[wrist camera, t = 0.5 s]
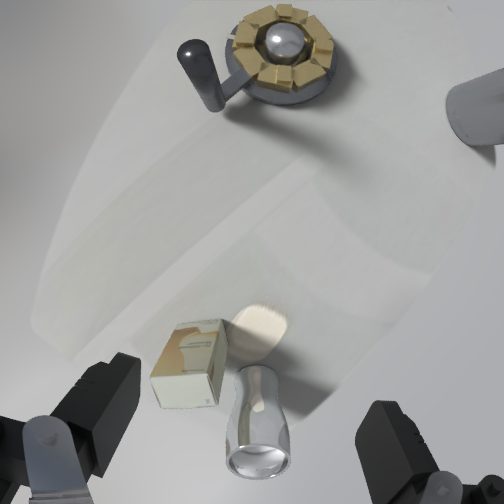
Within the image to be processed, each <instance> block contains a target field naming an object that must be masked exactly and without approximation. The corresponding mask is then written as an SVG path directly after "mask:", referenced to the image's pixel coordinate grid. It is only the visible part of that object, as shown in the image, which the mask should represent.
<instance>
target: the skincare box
mask: <svg viewBox="0 0 504 504" xmlns="http://www.w3.org/2000/svg"><path fill="white" fill-rule="evenodd" d="M228 347H229V346H228V341H227V337H226V332H225V328H224V324H223V321H222V319H217V320H208V321H199V322H192V323H185V324H178V325H177V326H176V328H175V330H174V331H173V333H172V335H171V337H170V339H169V341H168V343H167V344H166V346H165V348H164V350H163V352H162V354H161V356H160V358H159V359H158V361H157V363H156V365H155V367H154V369H153V371H152V373H151V375H150V377H149V380H150V383H151V386H152V388H153V391H154V394H155V396H156V399H157V401H158V403H159V406H160V408H162V409H192V408H204V407H217V406H218V403H219V397H220V392H221V386H222V381H223V375H224V370H225V364H226V358H227V353H228Z"/></svg>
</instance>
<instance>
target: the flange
mask: <svg viewBox="0 0 504 504" xmlns="http://www.w3.org/2000/svg"><path fill="white" fill-rule="evenodd" d="M242 22H244V20H243V21H242ZM238 25H239V24H238ZM238 25H237V26H236V27H235V28H234V29H233V31H232V32H231V34H228V35H227V37H226V38H227V39H228V40H227V43H226V48H225V57H226V63H227V67H228V71H229V73H230V75H231V76H232V75H233V74H234V73H236V72H237V71H238V70H239V69H240V67H239V66H238V65H237V63H236V62H235V61H234V56H233V51H232V45H233V41H234V38H235V35H236V31H237V28H238ZM255 49H256V50H257V51H258V53H259V54H260V55H261V57H262V58H263V59H264V60H265V62H266V63H268V64H273V65H277V66H278V65H285V66H291V68H293V67H295V66H297V65H299V64H301V63H303V62H305V61H307V60H308V59H309V54H310V48H309V46H308V45H307V44H306V42H305V37H304V34H303V32H302V31H301V30H300V29H299V28H298V27H297V26H295V25H292V24H289V23H278V24H275V25H273V26H272V27H270V28H269V30H268V31H267V33H265V34H263V35H261V36H259V37H258V39H257V42H256V46H255ZM336 65H337V54H336V50H335V47H334V48H333V53H332V58H331V64H330V69H329V70H328V72H327V73H326V74H325V76H324V77H323V78H322V80H320V81H318V82H316V83H314V84H312V85H310V86H308V87H306V88H304V89H302V90H300V91H299V92H297V93H295V92H294V91H293V89H292V88H291V90H290V92H289V94H287V93H283V92H279V91H274V90H270V89H265V88H260V87H257V81H255V82H253V83H251V82H250V83H249V84H247V85H246V86H245V87H244V88H242V89H241V90H243V91H244V92H245V93H246V94H248V95H249V96H251V97H253V98H255V99H257V100H259V101H262V102H265V103H268V104H274V105H294V104H299V103H303V102H306V101H308V100H310V99H312V98H314V97H315V96H317V95H318V94H319V93H321V92H322V91H323V90H324V89H325V87H326V86H327V85H328V84H329V82H330V81H331V79H332V78H333V75H334V73H335V70H336Z"/></svg>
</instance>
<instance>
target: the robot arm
mask: <svg viewBox="0 0 504 504" xmlns="http://www.w3.org/2000/svg"><path fill="white" fill-rule="evenodd" d="M446 110H447V115H448V119H449V122H450V124H451V127H452V128H453V130H454V132H455V133H456V135H457V136H458V137H459V138H460V139H461V140H462V141H463V142H464V143H466V144H468V145H470V146H487V145H499V144H504V68H502V69H499V70H497V71H494V72H491V73H488V74H486V75H483V76H481V77H478V78H475V79H473V80H470V81H467V82H465V83H462V84H460V85H458V86H455V87H453V88H452V89H451V90H450V92H449V94H448V96H447V100H446ZM140 381H141V360H140V358H136V357H133V356H130V355H127V354H124V353H120V352H118V353H117V354H116V355H115V356H114V358H113V359H112V360H111V362H110V363H109V364H107V363H104V362H99V363H97V364H95V365H93V366H91V367H89V368H88V369H87V370H86V372H85V373H84V374H83V375H82V376H81V379H79V380H78V381H77V382H76V383H75V386H74V387H72V388H71V390H70V391H69V392H68V393H67V394H66V396H65V397H64V398H63V400H62V401H61V402H60V403H59V405H58V406H57V407H56V408H55V410H54V411H53V412H52V413H51V414H50V415H49V416H47V415H42V416H37V417H34V418H32V419H30V420H29V421H28V422H21V421H17V420H13V419H10V418H6V417H3V416H0V504H10V503H11V501H12V500H13V498H14V496H15V494H16V492H17V490H18V489H19V487H20V485H24V486H28V487H30V488H31V493H32V498H29V504H94V503H93V500H92V497H91V495H90V492H89V490H88V486H87V482H88V480H89V478H90V476H91V474H93V475H95V476H98V477H100V478H102V477H103V475H104V473H105V471H106V469H107V467H108V465H109V463H110V461H111V459H112V457H113V455H114V453H115V451H116V448H117V447H118V445H119V443H120V441H121V438H122V437H123V434H124V433H125V431H126V429H127V427H128V425H129V423H130V421H131V419H132V417H133V415H134V413H135V411H136V409H137V406H138V403H139V398H140ZM355 446H356V449H357V452H358V456H359V459H360V462H361V465H362V469H363V472H364V476H365V479H366V482H367V486H368V489H369V493H370V496H371V500H372V503H373V504H504V480H503V479H502V478H501V477H499V476H496V475H487V476H486V477H484V478H483V479H482V480H481V481H480V482H479V484H478V485H465V484H462V483H461V481H460V480H459V478H458V477H457V476H455V475H454V474H452V473H450V472H447V471H440V470H439V468H438V466H437V464H436V462H435V460H434V458H433V457H432V454H431V453H430V451H429V449H428V447H427V445H426V443H424V439H423V437H422V436H421V435H420V432H419V430H418V428H417V427H416V425H415V423H414V422H413V421H412V420H411V419H410V418H409V417H408V416H407V415H406V414H403V412H402V411H401V409H400V407H399V405H398V403H397V402H396V401H380V400H377V401H375V402H373V404H372V405H371V407H370V409H369V411H368V413H367V414H366V416H365V418H364V420H363V421H362V423H361V425H360V427H359V428H358V430H357V433H356V437H355Z"/></svg>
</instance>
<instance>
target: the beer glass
mask: <svg viewBox="0 0 504 504" xmlns="http://www.w3.org/2000/svg"><path fill="white" fill-rule="evenodd" d="M234 386H235V391H236V400H235V403H234V406H233V409H232V412H231V414H230V417H229V421H228V425H227V431H226V465H227V467H228V469H229V470H230V471H231V472H232V473H233V474H235V475H237V476H239V477H242V478H245V479H251V480H263V479H269V478H273V477H276V476H278V475H280V474H282V473H283V472H285V471H286V470H287V469H288V467H289V466H290V463H291V457H290V435H289V429H288V424H287V421H286V418H285V415H284V412H283V410H282V407H281V405H280V403H279V400H278V397H277V390H278V377H277V375H276V374H275V372H274V371H273V370H271V369H270V368H268V367H265V366H261V365H252V366H248V367H245V368H243V369H242V370H240V371H239V372H238V374H237V375H236V377H235V380H234Z"/></svg>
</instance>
